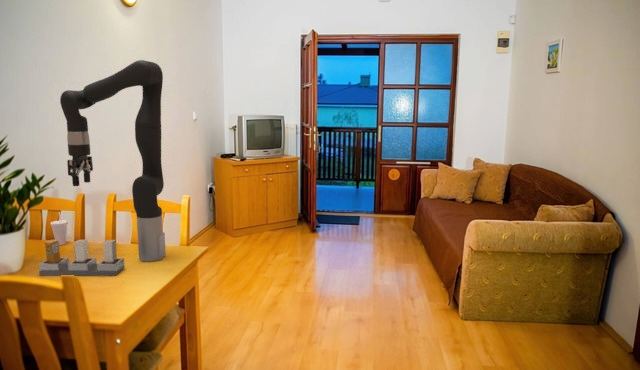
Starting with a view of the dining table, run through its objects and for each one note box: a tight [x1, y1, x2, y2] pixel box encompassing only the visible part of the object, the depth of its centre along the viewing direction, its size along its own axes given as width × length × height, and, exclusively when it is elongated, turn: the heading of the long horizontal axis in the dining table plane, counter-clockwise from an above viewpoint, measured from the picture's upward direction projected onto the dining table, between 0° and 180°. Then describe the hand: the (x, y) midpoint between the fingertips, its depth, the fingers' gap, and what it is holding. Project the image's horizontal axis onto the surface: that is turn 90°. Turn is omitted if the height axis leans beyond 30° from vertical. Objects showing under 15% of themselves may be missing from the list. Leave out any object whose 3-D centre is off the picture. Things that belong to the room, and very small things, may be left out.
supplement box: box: [44, 239, 61, 263], centre depth 154 cm, size 3×3×10 cm
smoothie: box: [50, 211, 69, 246], centre depth 184 cm, size 6×6×14 cm
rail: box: [38, 239, 125, 277], centre depth 154 cm, size 27×8×12 cm, turn 92°
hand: (81, 184), depth 171 cm, fingers open, 8 cm apart
